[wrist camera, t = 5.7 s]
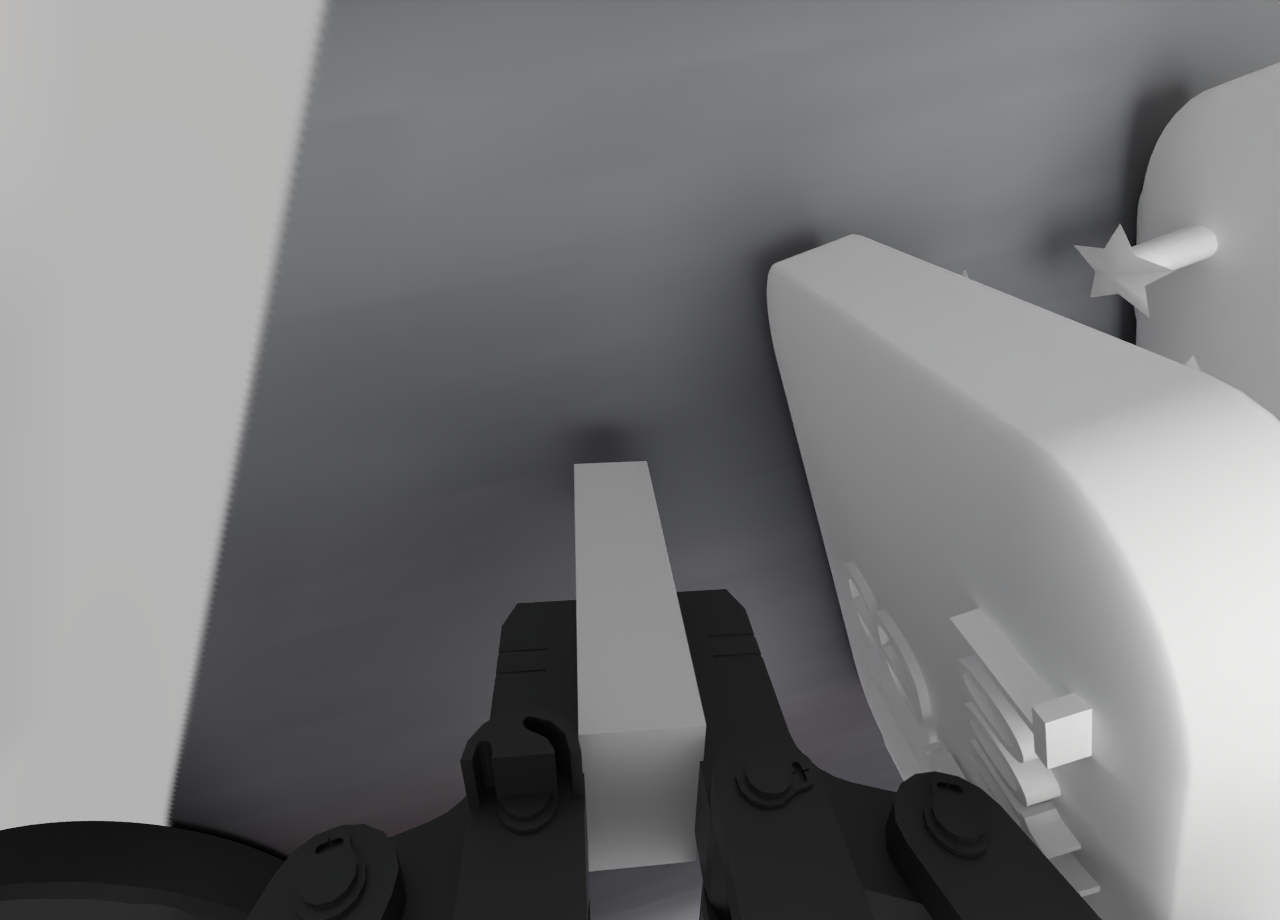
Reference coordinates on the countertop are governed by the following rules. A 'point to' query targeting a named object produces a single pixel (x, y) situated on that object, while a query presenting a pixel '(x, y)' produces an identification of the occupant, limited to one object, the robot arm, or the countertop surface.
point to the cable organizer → (1073, 523)
